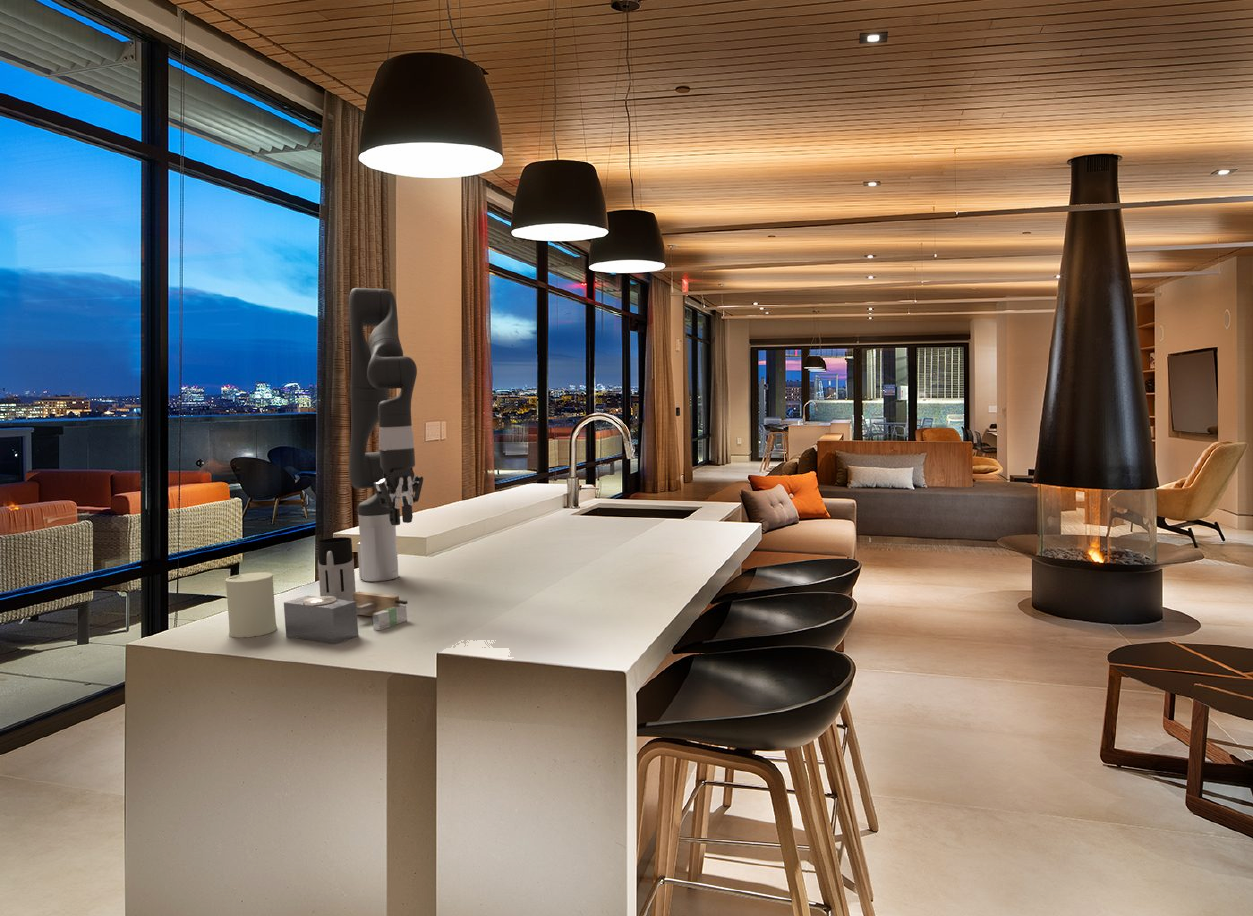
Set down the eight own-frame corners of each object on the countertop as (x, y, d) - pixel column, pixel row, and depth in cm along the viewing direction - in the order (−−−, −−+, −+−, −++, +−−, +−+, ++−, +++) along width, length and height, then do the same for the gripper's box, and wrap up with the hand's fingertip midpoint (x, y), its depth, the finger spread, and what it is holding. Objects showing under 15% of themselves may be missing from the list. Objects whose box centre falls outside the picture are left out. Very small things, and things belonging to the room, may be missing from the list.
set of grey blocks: (285, 636, 173) (282, 600, 173) (355, 613, 189) (353, 580, 189) (338, 644, 166) (336, 607, 165) (407, 620, 182) (405, 586, 181)
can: (238, 626, 182) (234, 571, 181) (283, 624, 183) (279, 568, 182) (221, 639, 173) (217, 580, 172) (268, 636, 174) (264, 578, 173)
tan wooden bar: (340, 618, 184) (338, 597, 184) (359, 611, 189) (358, 591, 189) (390, 625, 177) (389, 603, 177) (410, 618, 182) (408, 597, 182)
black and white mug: (360, 597, 204) (356, 535, 203) (352, 612, 191) (347, 546, 189) (322, 600, 203) (318, 538, 202) (311, 615, 189) (306, 548, 188)
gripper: (406, 444, 198) (411, 518, 200) (360, 449, 186) (365, 528, 188) (431, 444, 195) (435, 519, 196) (386, 449, 183) (391, 529, 184)
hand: (401, 523), depth 192 cm, fingers open, 3 cm apart
